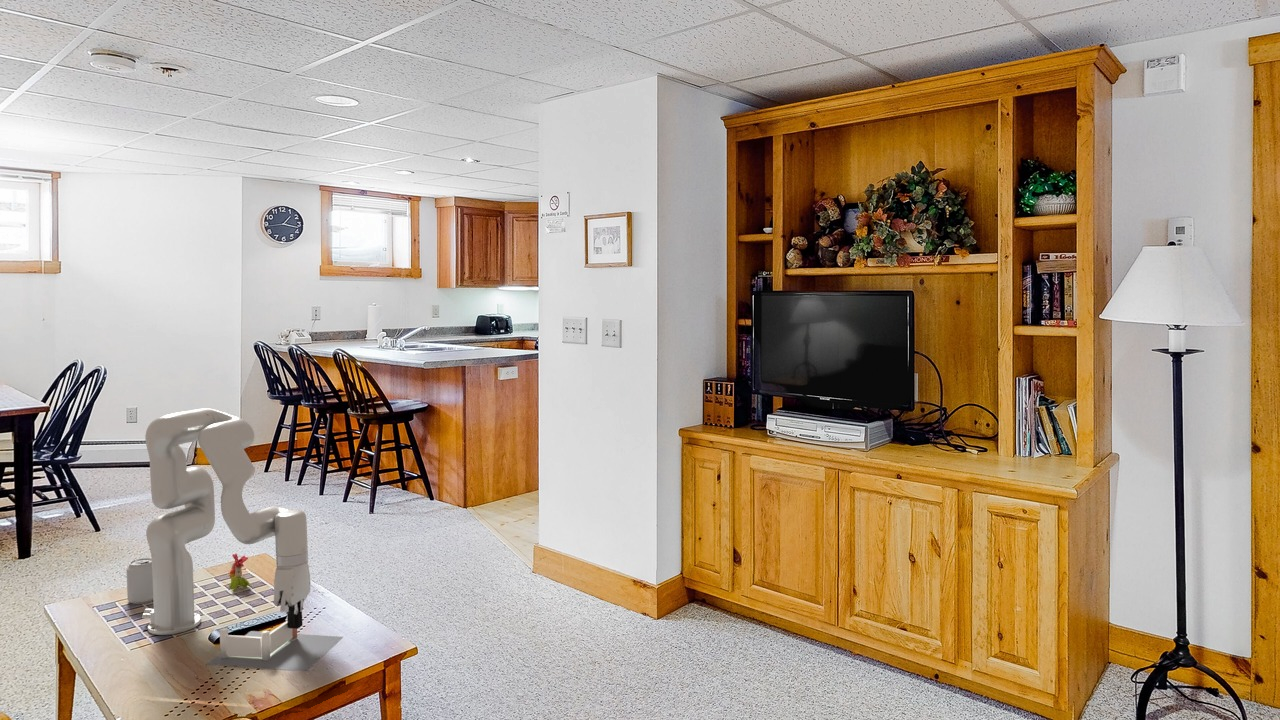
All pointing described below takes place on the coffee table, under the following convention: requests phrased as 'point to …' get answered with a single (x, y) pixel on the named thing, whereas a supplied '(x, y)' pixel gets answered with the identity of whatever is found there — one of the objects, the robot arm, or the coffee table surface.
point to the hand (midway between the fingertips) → (295, 627)
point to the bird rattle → (237, 573)
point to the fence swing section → (281, 636)
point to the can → (140, 581)
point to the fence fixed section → (245, 645)
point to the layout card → (285, 654)
